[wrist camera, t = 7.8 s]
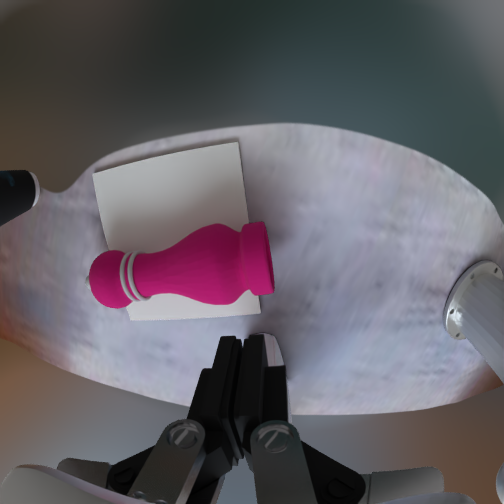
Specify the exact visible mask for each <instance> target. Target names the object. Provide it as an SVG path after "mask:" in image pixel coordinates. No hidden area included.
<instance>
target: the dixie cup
mask: <svg viewBox="0 0 504 504" xmlns="http://www.w3.org/2000/svg"><path fill="white" fill-rule="evenodd" d="M39 193H40V187H39V182H38V179H37V177H36V175H35V174H34V173H32V172H28V171H26V170H11V171H10V170H9V171H0V226H2V225H3V224H5V223H7V222H8V221H10V220H12V219H14V218H15V217H17V216H19V215H21V214H23V213H24V212H26V211H28V210H29V209H31V207H32V206H34V205H35V204H36V203H37V201H38V198H39Z"/></svg>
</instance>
